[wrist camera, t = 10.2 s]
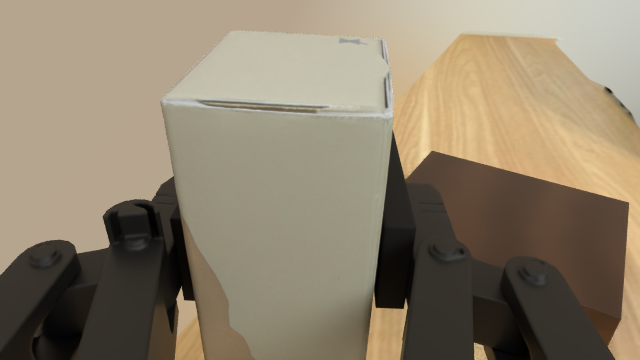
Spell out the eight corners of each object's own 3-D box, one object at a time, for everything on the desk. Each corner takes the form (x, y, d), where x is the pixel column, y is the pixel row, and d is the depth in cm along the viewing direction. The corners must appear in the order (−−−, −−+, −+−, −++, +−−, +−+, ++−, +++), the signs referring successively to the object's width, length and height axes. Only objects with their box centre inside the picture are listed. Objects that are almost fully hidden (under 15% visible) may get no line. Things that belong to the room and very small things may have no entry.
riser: (359, 278, 35) (363, 225, 33) (424, 195, 46) (431, 150, 43) (592, 377, 28) (621, 319, 26) (607, 252, 39) (629, 202, 36)
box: (253, 314, 18) (230, 25, 13) (362, 324, 18) (390, 32, 12) (212, 447, 14) (149, 91, 8) (357, 465, 13) (398, 106, 8)
